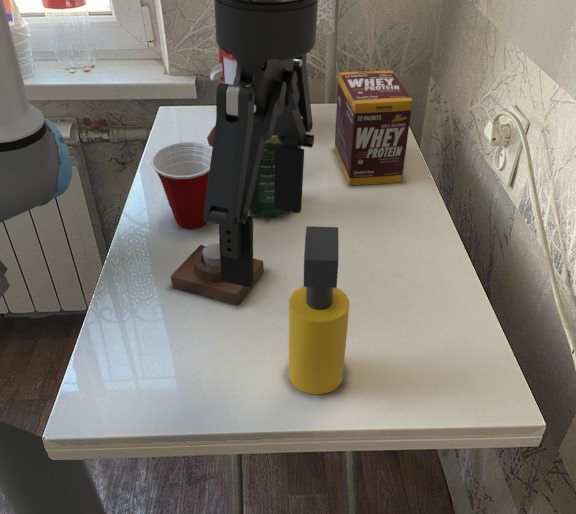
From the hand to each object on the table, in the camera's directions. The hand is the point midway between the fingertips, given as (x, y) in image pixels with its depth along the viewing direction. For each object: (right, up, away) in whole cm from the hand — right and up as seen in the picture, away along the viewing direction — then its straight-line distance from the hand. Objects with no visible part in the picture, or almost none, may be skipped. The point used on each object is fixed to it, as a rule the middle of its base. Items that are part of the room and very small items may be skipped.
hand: (264, 243), depth 59 cm
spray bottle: (+6, -13, +21) cm, 26 cm away
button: (-8, +3, +33) cm, 35 cm away
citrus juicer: (-5, +37, +74) cm, 83 cm away
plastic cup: (-14, +12, +48) cm, 52 cm away
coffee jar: (-1, +15, +52) cm, 54 cm away
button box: (-8, +1, +36) cm, 37 cm away
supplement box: (+18, +26, +63) cm, 70 cm away
